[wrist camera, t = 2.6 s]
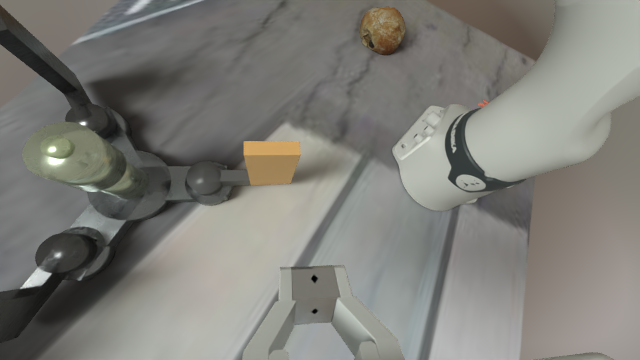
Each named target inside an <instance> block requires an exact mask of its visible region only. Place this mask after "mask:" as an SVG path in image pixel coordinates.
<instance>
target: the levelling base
mask: <svg viewBox="0 0 640 360" xmlns="http://www.w3.org/2000/svg"><path fill="white" fill-rule="evenodd" d="M0 44H1V45H2V46H3V47H5V48H6V49H7V50H8V51H10V52H11V53H12V54H13V55H15V56H16V57H17V58H19V59H20V60H21V61H22V62H24V63H25V64H26V65H28V66H29V67H30V68H32V69H33V70H34V71H35V72H37V73H38V74H39V75H40V76H42V77H43V78H44V79H45V80H47V81H48V82H49V83H51V84H52V85H53V86H54V87H56V88H57V89H58V90H60V91H61V92H62V93H63V94H64V95H65V97H66V98H67V100H68V102H69V104H70V105H71V107H72V109H71V110H69V112H68V113H67V115H66V119H65V120H66V122H59V123H54V124H50V125H47V126H45V127H43V128H41V129H39V130H38V131H36V132H35V133H34V134H33V135H32V136H31V137H30V138H29V139H28V140H27V142H26V144H25V146H24V149H23V161H24V163H25V165H26V167H27V168H28V169H29V170H30V171H31V172H33V173H34V174H36V175H38V176H41V177H44V178H47V179H50V180H53V181H56V182H59V183H62V184H65V185H68V186H71V187H74V188H77V189H80V190H83V191H87V193H88V198H89V201H90V205H89V206H88V207H87V208H86V209H85V211H84V212H83V213H82V214H81V215H80V217H79V218H78V219H77V220H76V221H75V222H74V224H73V225H72V226H71V227H70V228H69V229H68V230H65V231H63V232H62V233H60V234H56V235H53V236H51V237H49V238H48V239H46V240H45V241H44V242H43V243H42V244H41V245H40V246H39V248H38V250H37V252H36V257H35V259H36V264H37V266H38V268H37V269H36V270H35V272H34V273H33V274H32V275H31V276H30V278H29V279H28V280H27V281H26V282H25V284H24V285H23V286H22V287H21V288H20V289H16V290H10V291H3V292H0V343H2V342H5V341H8V340H11V339H14V338H17V337H18V336H19V335H20V334H21V332H22V331H23V330H24V328H25V327H26V326H27V325H28V323H29V322H30V321H31V320H32V318H33V317H34V316H35V314H36V313H37V312H38V311H39V309H40V308H41V307H42V306H43V304H44V303H45V302H46V301H47V299H48V298H49V297H50V295H51V294H52V293H53V292H54V290H55V289H56V288H57V287H58V285H59V284H60V283H61V281H62V280H76V279H77V280H79V281H83V280H90V279H92V278H93V276H94V275H96V274H98V273H100V272H101V271H103V270H104V269H105V268H106V267H107V266H108V265H109V264H110V262H111V261H112V259H113V257H114V254H115V250H116V245H117V244H118V243H119V241H120V240H121V239H122V237H123V236H124V235H125V233H126V232H127V231H128V229H129V228H130V227H131V225H132V224H133V223H134V222H138V221H143V220H147V219H149V218H152V217H154V216H156V215H157V214H159V213H160V212H161V211H163V210H164V209H165V208H166V207H167V206H168V204H169V203H179V202H198V203H200V204H203V205H208V206H212V205H217V204H220V203H222V202H223V201H225V200H228V197H229V196H230V194H231V192H232V190H233V186H223V187H222V189H221V190H220V191H219V192H218V193H216V194H214V195H211V196H203V195H200V194H198V193H197V192H196V191H194V190H193V189H192V188H191V187H190V186H189V185H188V183H187V179H186V176H187V172H188V170H189V169H190V167H191V166H168V165H167V164H166V163H165V162H164V161H162V160H161V159H160V158H159V157H157V156H155V155H154V154H151V153H148V152H144V151H139V150H138V149H137V147H136V145H135V144H134V142H133V140H132V138H131V137H130V136H131V128H130V125H129V123H128V122H127V121H126V120H125V119H124V118H123V117H122V116H121V115H119V114H118V113H117V112H116V111H114V110H112V109H111V108H110V107H109V106H108V107H106V108H104V107H99V106H97V105H95V104H92V103H91V101H90V99H89V98H88V96H87V94H86V92H85V91H84V89H83V87H82V86H81V84H80V82H79V80H78V79H77V77H76V75H75V74H74V73H73V72H72V71H71V70H70V69H69V68H68V67H67V66H65V65H64V64H63V63H62V62H61V61H60V60H59V59H58V58H57V57H56V56H55V55H54V54H52V53H51V52H50V51H49V50H48V49H47V48H46V47H45V46H44V45H43V44H42V43H41V42H39V40H37V39H36V38H35V37H34V36H33V35H32V34H31V33H30V32H29V31H28V30H27V29H26V28H24V27H23V26H22V25H21V24H20V23H19V22H18V21H17V20H16V19H15V18H14V17H13V16H11V15H10V14H9V13H8V12H7V11H6V10H5V9H4V8H3V7H2V6H1V5H0ZM212 163H214V164H215V165H217V166H218V167H219V169H220V170H229V169H228V167H227V166H223V165H221V164H219V163H217V162H212Z"/></svg>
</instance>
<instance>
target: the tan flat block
mask: <svg viewBox="0 0 640 360" xmlns="http://www.w3.org/2000/svg"><path fill="white" fill-rule="evenodd" d="M300 155H301V153H300V142H273V141H244V158H245V162H246V167H247V170H220V169H219V167H218V166H217V165H215V164H214V163H212V162H209V161H201V162H198V163H196V164H194V165H192V166H191V167H190V169H189V170H188V172H187V176H186V179H187V183H188V185H189V186H190V187H191V188H192V189H193V190H194V191H196V192H197V193H198V194H200V195H203V196H211V195H214V194H216V193H218V192H219V191H220V190H221V189H222V187H223V186H239V185H271V184H291V181H292V178H293V175H294V172H295V169H296V167H297V164H298V161H299V158H300Z"/></svg>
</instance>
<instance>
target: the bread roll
mask: <svg viewBox="0 0 640 360" xmlns="http://www.w3.org/2000/svg"><path fill="white" fill-rule="evenodd" d="M404 35H405V24H404V20H403V17H402V16H401V14H400V12H399V11H398V10H397V9H395V8H391V7H385V8H383V7H377V8H373V9H371V10H369V11H368V12H367V13H366V14H365V15H364V17H363V19H362V22H361V26H360V37H361V39H362V44H363V45H365V46H366V47H368V48H370V49H371V50H373V51H375V52H377V53H379V54H382V55H388V54H391V53H393V52H394V51H395V50H396V49H397V48H398V46H399V45H400V43H401V41H402V39H403V38H404Z"/></svg>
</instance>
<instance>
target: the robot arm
mask: <svg viewBox="0 0 640 360" xmlns="http://www.w3.org/2000/svg"><path fill="white" fill-rule="evenodd" d="M639 96H640V0H555V12H554V22H553V26H552V31H551V34H550V37H549V39H548V42H547V44H546V47H545V49H544V50H543V52H542V54H541V56H540V57H539V59H538V60H537V61H536V63H535V64H534V65H533V67H532V68H531V69H530V70H529V71H528V72H527V73H526V74H525V75H524V76H523V77H522V78H521V79H520V80H519V81H517V82H516V83H515V84H514V85H512V86H511V87H510V88H508V89H507V90H506V91H505V92H503V93H502V94H501V95H499V96H498V97H496V98H495V99H494V100H492V101H491V102H487V101H485V100H483V102H484V103H486V104H487V105H485V104H482V103H479V104H478V105H479V106H481V107H482V108H478V109H475V110H471V109H469V108H467V107H465V106H462V105H458V104H452V105H449V106H448V107H446V108H442V107H438V106H430V107H428V108H427V109H426V110H425V111H424V112H423V114H422V115H421V116H420V117H419V118H418V119H417V120H416V122H415V123H414V124H413V125H412V126H411V127H410V128H409V130H408V131H407V132H406V133H405V134H404V135H403V137H402V138H401V139H400V140H399V141H398V142H397V143H396V145H395V146H394V147H393V149H392V152H393V155H394V157H395V159H396V161H397V162H398V164H399V169H400V175H401V179H402V182H403V184H404V186H405V188H406V190H407V192H408V193H409V194H410V196H411V197H412V198H413V199H414V200H415V201H416V202H418V203H419V204H420V205H422V206H424V207H426V208H428V209H431V210H435V211H446V210H450V209H452V208H454V207H456V206H458V205H460V204H471V203H474V202H476V201H477V198H479V197H482V196H484V195H487V194H489V193H492V192H494V191H497V190H499V189H503V188H509V187H512V186H514V185H516V184H519V183H521V182H523V181H524V180H526V179H527V178H530V177H533V176H537V175H540V174H543V173H547V172H551V171H554V170H558V169H561V168H565V167H569V166H572V165H576V164H579V163H582V162H584V161H586V160H588V159H589V158H591V157H592V156H593V155H594V154H596V153H597V152H598V150H599V149H600V148H601V147H602V146H603V144H604V143H605V142H606V140H607V138H608V136H609V133H610V129H611V111H612V110H614V109H615V108H617V107H619V106H621V105H623V104H624V103H626V102H628V101H630V100H632V99H634V98H637V97H639ZM402 146H403V148H402ZM328 322H332V323H331V324H332V325H333V326H334V328H335V329H336V331H337V332H338V333H339V335H340V336H341V338H342V339H343V341H344V342H345V343H346V345H347V346H348V348H349V349H350V350H351V352H352V353H353V355H354V356H355V359H354V360H405V359H404V356H403V354H402V351H401V348H400V346H399V343H398V340H397V338H396V337H395V336H394V335H393V334H392V333H391V332H390V331H389V330H388V329H387V328H386V327H385V326H384V325H383V324H382V323H381V322H380V321H379V320H378V319H377V318H376V316H375V315H374V314H373V313H372V312H371V311H370V310H369V309H368V308H367V307H366V306H365V305H364V304H363V303H362V302H361V301H360V300H359V299H358V298H357V297H353V295H352V292H351V288H350V284H349V281H348V277H347V273H346V270H345V267H344V265H333V266H332V265H327V266H312V267H280V276H279V301H276V302H275V304H274V305H273V307H272V309H271V310H270V312H269V313H268V315H267V316H266V318H265V319H264V321H263V322H262V324H261V325H260V327H259V328H258V330H257V332H256V333H255V335H254V336H253V338H252V339H251V341H250V342H249V344H248V345H247V347H246V348H245V350H244V352H243V358H242V360H288V352H287V351H286V350H285V349H283V348H284V346H285V344H286V342H287V340H288V338H289V336H290V334H291V332H292V330H293V327H294V325H301V324H310V323H328ZM535 360H614V359H612V358H610V357H608V356H607V355H604V354H601V353H583V354H575V355H567V356H559V357H551V358H543V359H535Z"/></svg>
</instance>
